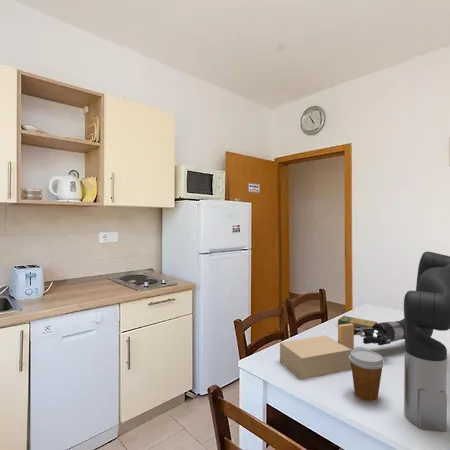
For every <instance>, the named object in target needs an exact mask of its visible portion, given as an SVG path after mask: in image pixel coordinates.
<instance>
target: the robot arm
mask: <svg viewBox="0 0 450 450" xmlns="http://www.w3.org/2000/svg"><path fill="white" fill-rule="evenodd" d="M415 285H416V286H415V290H408V291H407V292H406V293H405V295H404V299H403V317H404V318H402V319H400V320H397V321H384V322H377V323H376V324H374V325H373V327H372V328H370V327H368V328H365V326H364V325H360V326H354V336H360V337H361V338H363V340H362V342H363V344H364V345H369V344H375V345H376V344H377V345H378V346H384V345H389V344H391V343H394V342H398V341H400V340H404V369H403V370H404V372H403V373H404V374H403V375H404V378H403V379H404V382H403V387H404V391H403V397H404V398H403V399H404V400H403V401H404V402H403V404H404V405H403V407H404V408H403V410H404V411H403V413H404V416H405V418H406V419H407V420H408V421H410V422H411V423H412V424H413V425H416V426H417V427H418V429H420V430H429V431H438V432H447V431H448V429H447V428H448V417H447V416H448V394H447V379H448V378H447V377H448V375H447V373H448V372H447V368H448V352H447V351H448V350H447V347H446V346H445V344H443V343H442V342H441V341H439V340H437V339H435V338H433V337H432V336H433V334H434V330H435V331H439V332H440V331H441V332H442V331H449V330H450V255H445V254H443V253H438V252H433V251H425V252H423V253H422V254H421V257H420V259H419V263H418V268H417V275H416V284H415ZM363 333H364V334H363Z"/></svg>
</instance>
